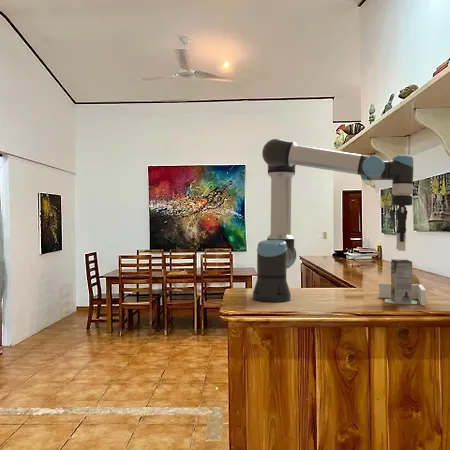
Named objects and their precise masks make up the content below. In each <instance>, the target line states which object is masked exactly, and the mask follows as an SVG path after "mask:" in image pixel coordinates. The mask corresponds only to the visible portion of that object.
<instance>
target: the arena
mask: <svg viewBox="0 0 450 450" xmlns="http://www.w3.org/2000/svg"><path fill="white" fill-rule="evenodd" d="M426 294H427V289H426V288H425V287H424V286H423V284H412V300H415V299H418V300H419V301H418V300H417V301H418V303H419V302H420V303H419V304H421V305H427V303H426V302H427V297H426V296H427V295H426ZM378 298H380V299H391V282H378ZM421 305H420V306H421Z"/></svg>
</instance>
